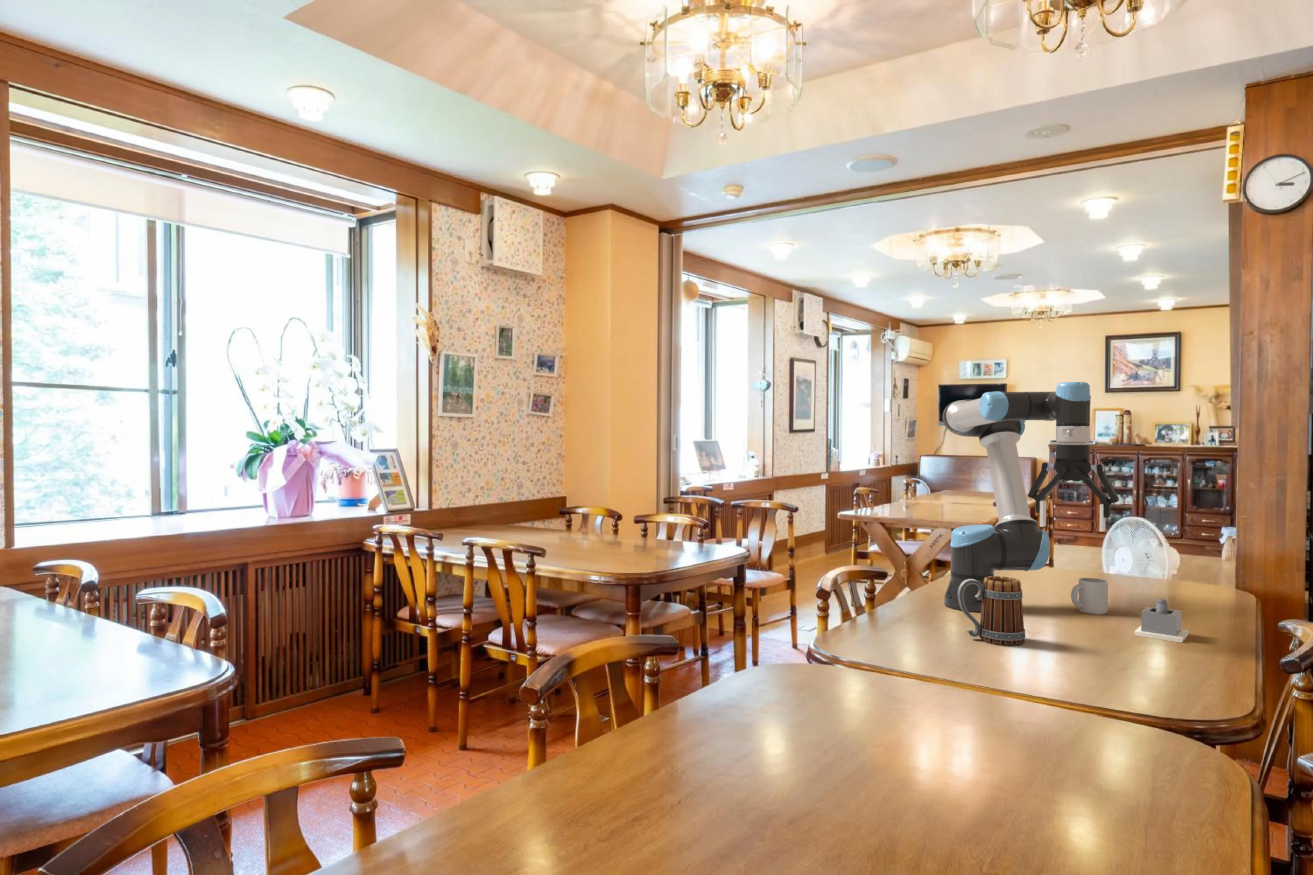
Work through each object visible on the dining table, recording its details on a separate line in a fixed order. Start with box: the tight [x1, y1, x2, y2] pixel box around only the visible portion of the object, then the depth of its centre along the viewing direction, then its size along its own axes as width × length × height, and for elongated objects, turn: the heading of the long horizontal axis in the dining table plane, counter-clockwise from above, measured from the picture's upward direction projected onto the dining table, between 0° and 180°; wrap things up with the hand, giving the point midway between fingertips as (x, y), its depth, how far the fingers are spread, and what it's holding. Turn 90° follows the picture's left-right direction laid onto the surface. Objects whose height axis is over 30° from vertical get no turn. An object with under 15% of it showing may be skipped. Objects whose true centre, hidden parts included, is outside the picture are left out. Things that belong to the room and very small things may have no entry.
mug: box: [958, 575, 1026, 647], centre depth 194 cm, size 16×11×15 cm
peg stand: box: [1134, 597, 1190, 643], centre depth 198 cm, size 10×10×9 cm
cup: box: [1070, 577, 1109, 616], centre depth 223 cm, size 7×10×9 cm
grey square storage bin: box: [1140, 605, 1183, 636], centre depth 198 cm, size 7×7×5 cm
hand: (1071, 528), depth 198 cm, fingers open, 13 cm apart
